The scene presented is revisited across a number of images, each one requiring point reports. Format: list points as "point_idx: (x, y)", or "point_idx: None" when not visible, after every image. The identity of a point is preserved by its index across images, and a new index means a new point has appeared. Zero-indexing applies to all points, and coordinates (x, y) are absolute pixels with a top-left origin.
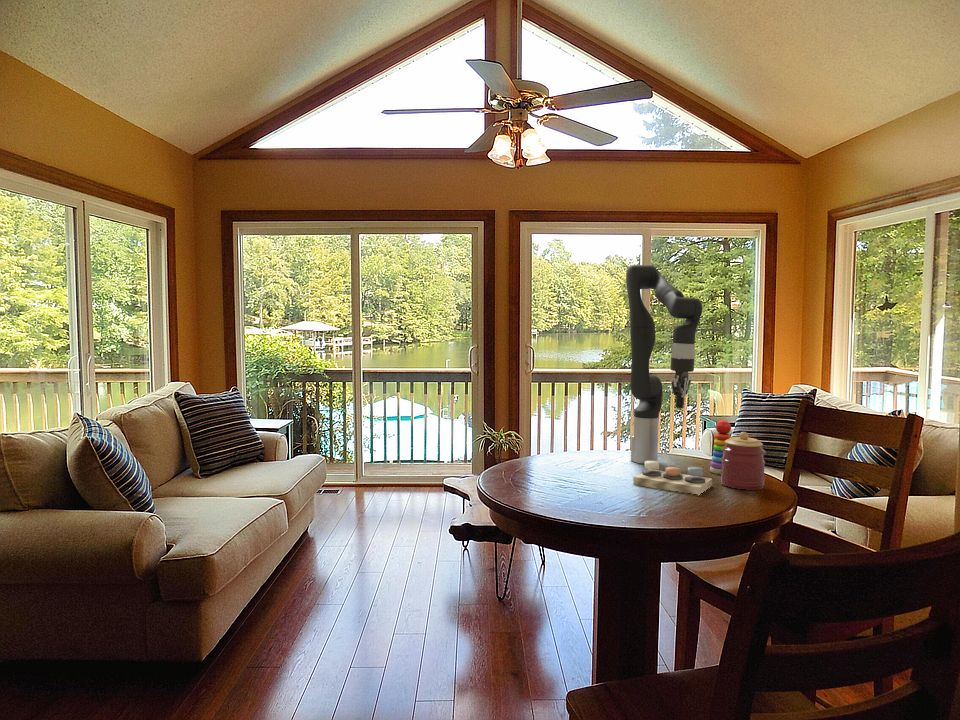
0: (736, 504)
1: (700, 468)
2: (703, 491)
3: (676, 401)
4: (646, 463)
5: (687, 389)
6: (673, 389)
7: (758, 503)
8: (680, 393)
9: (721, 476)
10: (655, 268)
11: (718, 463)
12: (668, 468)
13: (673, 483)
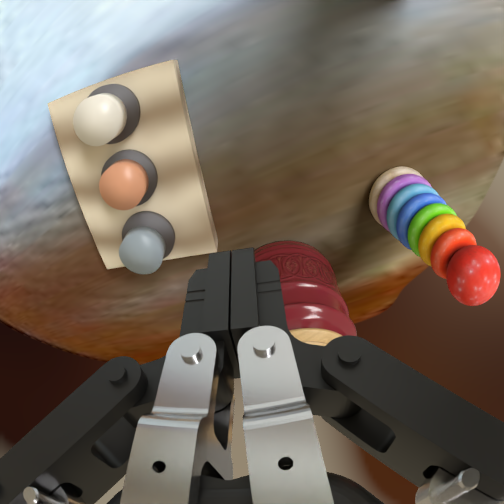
0: (125, 321)
1: (151, 265)
2: None
3: (206, 292)
4: (75, 115)
5: (371, 437)
6: (47, 427)
7: (167, 340)
8: (120, 428)
9: (257, 259)
10: None
11: (384, 209)
12: (107, 179)
13: (82, 211)
